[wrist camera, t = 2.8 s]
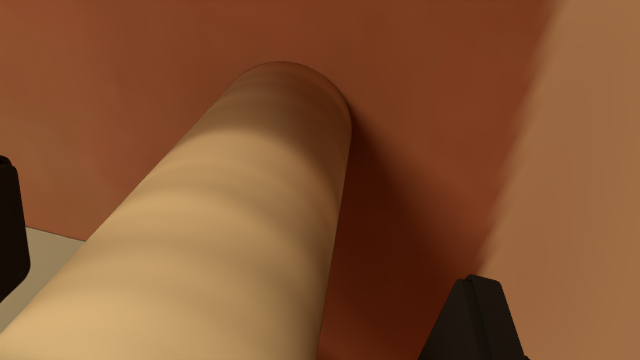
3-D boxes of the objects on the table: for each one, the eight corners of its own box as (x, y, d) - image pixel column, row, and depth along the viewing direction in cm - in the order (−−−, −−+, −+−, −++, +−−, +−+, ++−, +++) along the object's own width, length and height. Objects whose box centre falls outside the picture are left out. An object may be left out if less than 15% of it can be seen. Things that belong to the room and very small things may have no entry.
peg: (228, 46, 13) (-73, 290, 5) (367, 81, 13) (330, 390, 5) (215, 167, 15) (-2, 486, 7) (335, 197, 15) (269, 555, 7)
